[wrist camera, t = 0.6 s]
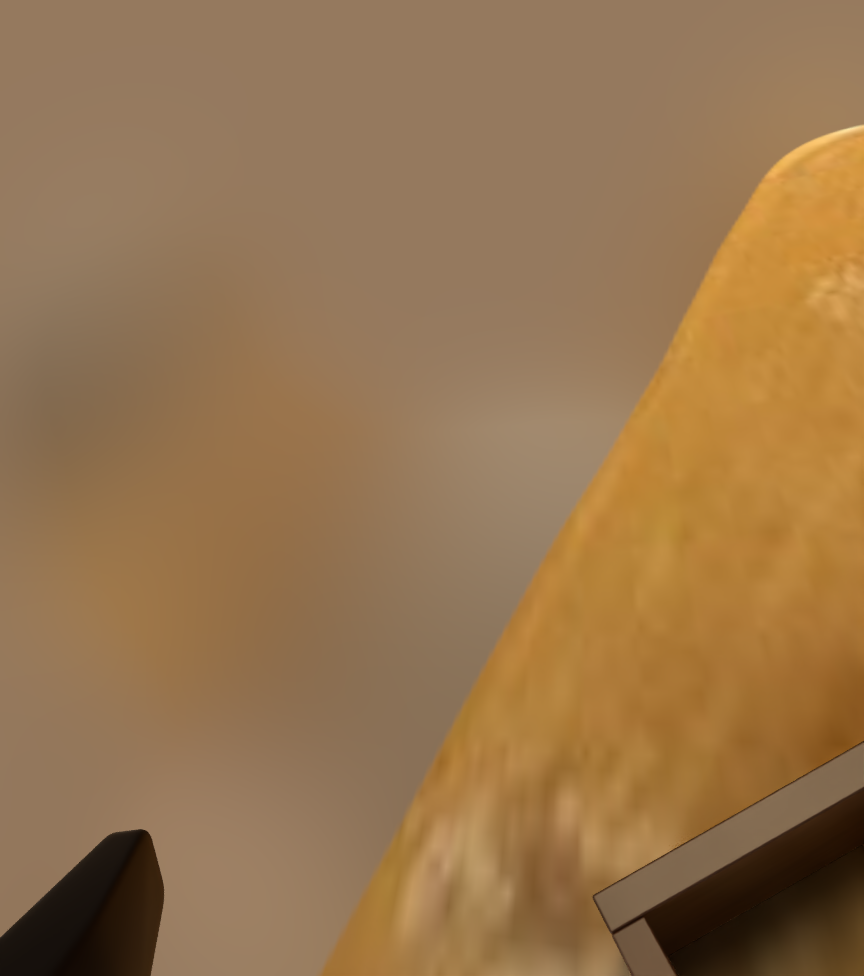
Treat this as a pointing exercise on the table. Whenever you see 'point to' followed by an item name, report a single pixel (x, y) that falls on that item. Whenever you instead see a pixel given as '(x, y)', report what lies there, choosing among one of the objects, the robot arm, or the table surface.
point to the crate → (736, 864)
